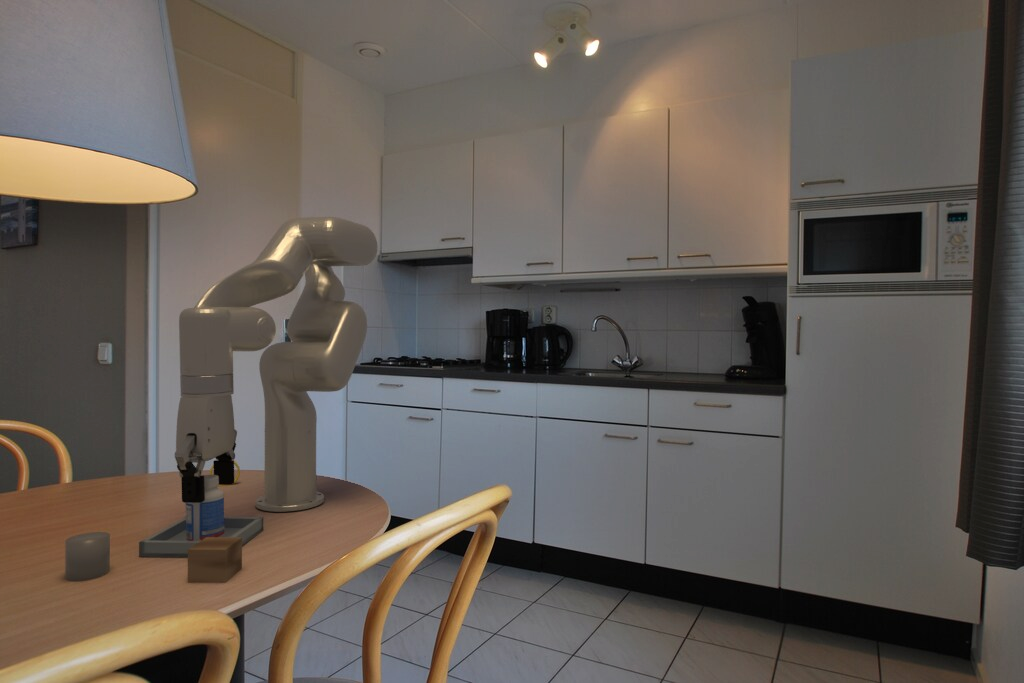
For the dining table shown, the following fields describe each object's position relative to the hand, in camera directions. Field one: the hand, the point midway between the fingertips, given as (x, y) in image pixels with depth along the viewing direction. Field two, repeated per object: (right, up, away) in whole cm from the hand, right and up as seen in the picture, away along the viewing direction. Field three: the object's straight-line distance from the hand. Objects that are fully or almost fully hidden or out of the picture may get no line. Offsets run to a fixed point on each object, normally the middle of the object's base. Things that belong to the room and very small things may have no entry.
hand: (209, 492), depth 97 cm
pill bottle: (0, -7, -1) cm, 7 cm away
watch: (-15, -8, +37) cm, 41 cm away
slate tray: (0, -8, -1) cm, 8 cm away
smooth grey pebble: (-10, -8, -14) cm, 19 cm away
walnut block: (+8, -8, -14) cm, 18 cm away
